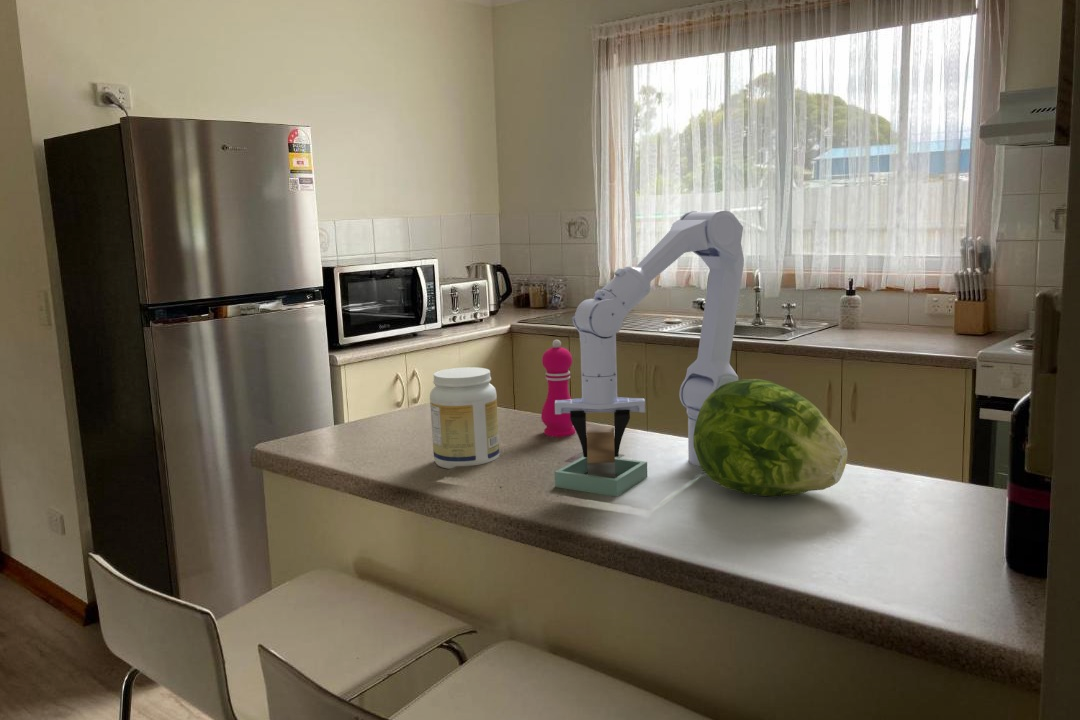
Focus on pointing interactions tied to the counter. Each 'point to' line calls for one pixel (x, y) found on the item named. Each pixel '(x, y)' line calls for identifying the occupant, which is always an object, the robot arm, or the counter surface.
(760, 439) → the lettuce
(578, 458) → the base
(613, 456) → the strut
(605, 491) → the bin
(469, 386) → the supplement tub
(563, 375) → the pepper mill
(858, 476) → the counter surface
